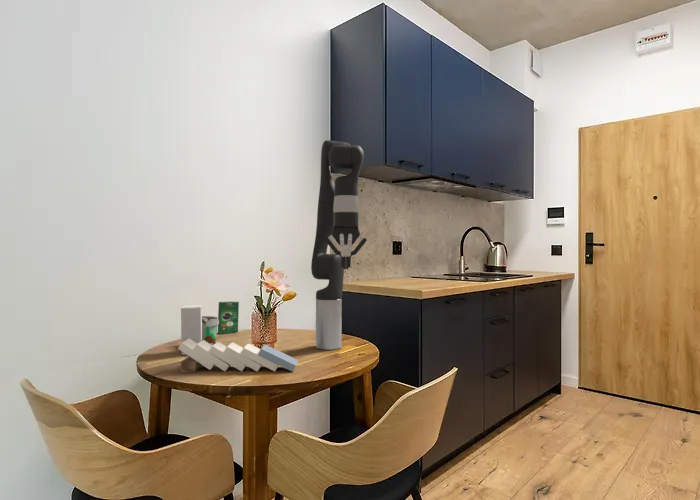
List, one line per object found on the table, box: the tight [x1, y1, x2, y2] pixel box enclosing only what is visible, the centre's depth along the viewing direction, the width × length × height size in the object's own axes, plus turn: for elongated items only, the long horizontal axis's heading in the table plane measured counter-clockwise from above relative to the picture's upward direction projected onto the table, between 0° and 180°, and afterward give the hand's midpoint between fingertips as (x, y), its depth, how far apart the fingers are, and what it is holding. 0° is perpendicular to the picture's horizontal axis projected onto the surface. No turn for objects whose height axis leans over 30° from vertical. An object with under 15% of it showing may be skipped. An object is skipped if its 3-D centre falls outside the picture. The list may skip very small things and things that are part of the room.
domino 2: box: [193, 340, 232, 372], centre depth 126 cm, size 2×6×11 cm
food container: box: [202, 315, 219, 346], centre depth 157 cm, size 12×6×10 cm, turn 34°
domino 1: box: [177, 338, 216, 370], centre depth 126 cm, size 2×6×11 cm
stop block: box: [180, 356, 204, 373], centre depth 126 cm, size 4×8×3 cm, turn 0°
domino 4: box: [224, 341, 263, 372], centre depth 126 cm, size 2×6×11 cm
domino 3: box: [209, 341, 247, 372], centre depth 126 cm, size 2×6×11 cm
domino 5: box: [241, 343, 279, 372], centre depth 126 cm, size 2×6×11 cm
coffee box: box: [217, 300, 240, 335], centre depth 180 cm, size 8×3×13 cm, turn 124°
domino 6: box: [258, 344, 299, 372], centre depth 126 cm, size 2×6×11 cm
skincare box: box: [180, 304, 203, 356], centre depth 146 cm, size 8×7×16 cm
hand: (345, 269), depth 131 cm, fingers closed
